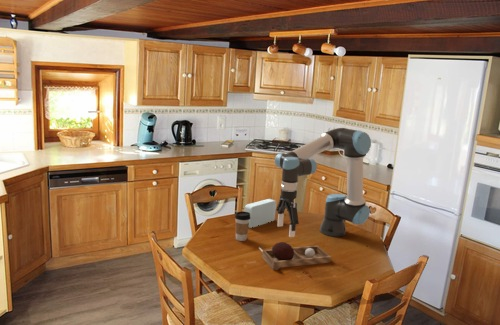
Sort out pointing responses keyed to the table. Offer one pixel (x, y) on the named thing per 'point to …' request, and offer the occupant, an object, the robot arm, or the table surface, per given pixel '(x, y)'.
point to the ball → (309, 253)
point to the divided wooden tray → (296, 258)
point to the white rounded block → (261, 212)
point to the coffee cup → (242, 225)
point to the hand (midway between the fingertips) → (285, 231)
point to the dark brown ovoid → (283, 251)
